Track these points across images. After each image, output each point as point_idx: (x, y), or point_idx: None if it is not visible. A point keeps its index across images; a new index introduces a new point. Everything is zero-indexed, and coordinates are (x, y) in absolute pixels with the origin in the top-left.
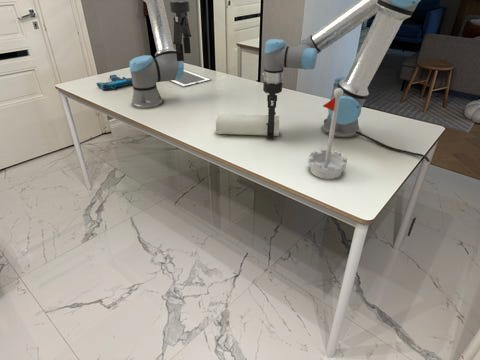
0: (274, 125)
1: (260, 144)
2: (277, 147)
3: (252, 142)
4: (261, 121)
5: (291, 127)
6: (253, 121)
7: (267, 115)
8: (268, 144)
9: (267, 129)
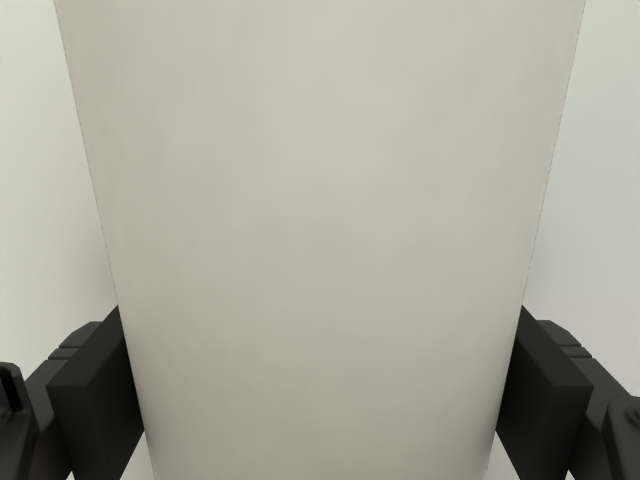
0: (150, 457)
1: (20, 166)
2: (14, 347)
3: (42, 49)
4: (125, 263)
5: (509, 470)
6: (72, 14)
7: (387, 442)
8: (53, 260)
9: (105, 318)
